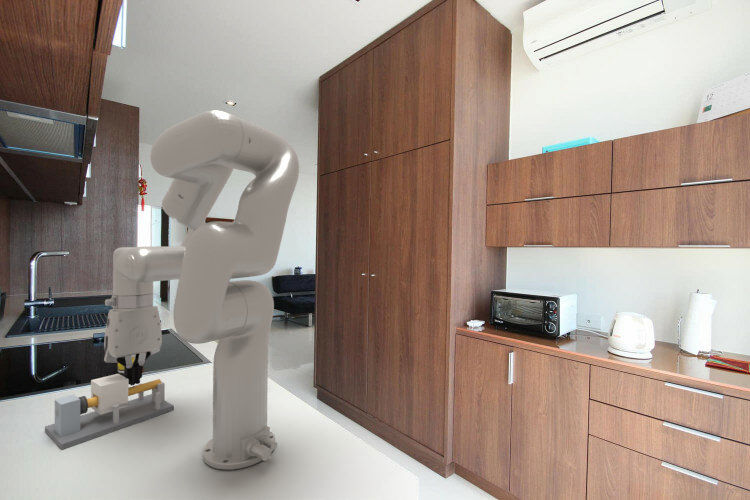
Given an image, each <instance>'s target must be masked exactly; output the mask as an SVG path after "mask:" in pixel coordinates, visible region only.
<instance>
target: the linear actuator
mask: <svg viewBox="0 0 750 500" xmlns="http://www.w3.org/2000/svg"><path fill="white" fill-rule="evenodd" d="M165 388H166V387H165V382H163V381H162V380H161V379H160V378H157V379H154V380H151V381H148V382H143V383H139V384H135V385H132V386H129V391H128V397H131V396H133V395H138V396H137V398H134V399H130V400H128V406H126V407H123V408H120V409H119V405H115V406H113V411H111V412H107V413H104V414H101V415H100V414H99V413H97V412H96V411H95V410H94V411H92V412H91V411H90V412H89V413H87V412H88V409H90V408H91V407H93V406H97V405H98V399H99V397H98V396H97V397H93V398H91V397H90V398H87V396H85V395H82V396H77V395H75V394H70V395H66V396H62V397H59V398H55V399H54V423H52V424H49V425H46V426H44V432H45V434H47V435H48V437H50V439H51V440H52V442H54V443H55V444H56V445H57V447H59V449H60V450H61V451H62V450H66V449H67V448H71V447H73V446H76V445H79V444H82V443H84V442H87V441H90V440H93V439H96V438H99V437H101V436H104V435H107V434H110V433H112V432H116V431H119V430H121V429H124V428H127V427H130V426H132V425H136V424H138V423H141V422H144V421H146V420H150V419H152V418H154V417H158V416H161V415H163V414H166V413H169V412H172V411H174V410H175V405H173V404H172V403H170V402H168V401H166V399H165ZM150 390H151V393H150V394H147V395H144V394H145V393H144V392H147V391H150Z"/></svg>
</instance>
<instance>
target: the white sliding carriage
mask: <svg viewBox="0 0 750 500" xmlns="http://www.w3.org/2000/svg"><path fill="white" fill-rule="evenodd" d="M129 385H130V384H129V379H127V378H126V377H124V375H121V373H115V374H111V375H108V376H106V375H105V376H103V377H99V378H95V379H91V380H90V393H91V394H90V395H91V397H90V398H93V397H97V396H98V397H99V399H98V405H97V406H93V407H90V408H91V409H92V410H94V411H96V412H97V413H99V414H100V415H101V414H104V413H107V412H111V411H113V406H115V405H119V409H120V408H123V407H126V406H128V401H129V396H128V391H129V387H130V386H129Z"/></svg>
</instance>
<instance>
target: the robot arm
mask: <svg viewBox="0 0 750 500" xmlns="http://www.w3.org/2000/svg"><path fill="white" fill-rule="evenodd" d="M149 156H150V164H151V166H152V168H153V170H154V172H155V173H157V174H158V175H160V176H162V177H166V178H170V179H172V180H171V183H170V185H169V187H168V189H167V191H166V193H165V195H164V197H163V198H162V200H161V207H162V209H163V211H164V213H165V214H166V215H167V216H168V217H170V218H171V219H172V220H173V221H175V222H177V223H178V224H180V225H182V226H184V227H185V228H188V229H187V232H186V234H185V237H184V239H183V241H182V242H181V244H180V245H179V246H160V245H159V246H122V247H117V248H116V249H115V250H114V251H113V253H112V254H113V255H112V295H111V298H107V299H105V300H104V304H105V306H107V307H108V306H110V307H111V309H109V311H108V313H107V319H106V325H105V328H104V329H105V331H104V343H103V347H104V353H105V354H104V359H103V361H104V362H105V363H107V364H109V363H110V364H111V363H114V364H115V363H117V364H118V363H120V364H121V365H123V366H124V373H123V374H124V375H123V376H124V377H126V378H127V379H129V385H130V387H133V386H136V385H138V384H141V379H142V377H143V365H145V362H146V360H147V359H148V358H149V357H150V356H152V355H154V354H157V353H159V352H160V351H161V346H162V343H163V338H162V337H163V336H162V333H163V332H162V323H161V317H160V311H159V309H158V306H157V305H154V282H155V283H156V282H163V281H174V280H175V281H176V280H178V284H177V288H176V293H175V299H174V305H173V315H172V316H173V323H174V324H173V325H174V329H175V331H176V332H177V335H178V336H179V337H180V339H182V340H183V341H185V342H186V343H189V344H195V345H198V344H199V345H201V344H208V343H210V342H215V341H218V343H217V345H216V347H215V351H214V355H213V366H212V369H213V370H212V372H213V373H212V438H211V439H210V440H209V441H208V442H207V443H206V444H205V446H204V448H203V450H202V458H203V461H204V463H205V464H206V465H207V466H209V467H211V468H213V469H217V470H225V471H226V470H228V471H230V470H238V469H244V468H248V467H251V466H253V465H256V464H257V463H259V462H262V461H264V462H266V461H268V460H269V459H270V458H271V455H272V453H273V451H274V450H275V449H276V448H277V447H278V442H277V441H276V436H275V434H274V433H273V432H272V431H271V427H270V426H268V383H269V382H268V377H269V375H268V371H269V366H268V364H269V344H270V343H269V341H270V334H271V327H272V323H273V316H274V310H275V309H274V308H275V301H274V297H273V295H272V293H271V290H270V289H269V288H268V287H267V286H266V285H264V284H263V283H261V282H259V281H256V280H249V279H248V280H247V279H245V280H243V279H244V278H252V277H259V276H262V275H266V274H268V273H270V272H271V270H273V268H274V267H275V265H276V262H277V259H278V256H279V251H280V247H281V243H282V239H283V236H284V235H283V234H284V231H285V228H286V227H285V226H286V222H287V216H288V212H289V209H290V205H291V201H292V198H293V195H294V192H295V190H296V187H297V184H298V180H299V175H300V163H299V158H298V155H297V153H296V151H295V149H294V147H293V146H292V145H291V143H289V141H287V140H286V139H284V137H282V136H280V135H279V134H277V133H275V132H274V131H271V130H270V129H268V128H266V127H263V126H261V125H258V124H256V123H254V122H251V121H248V120H245V119H243V118H241V117H239V116H236V115H234V114H232V113H229V112H226V111H222V110H219V109H212V110H206V111H203V112H200V113H198V114H196V115H194V116H191V117H189V118H187V119H185V120H183V121H179V122H178V123H176V124H174V125H172V126H171V127H168V128H166V129H165V130H164V131H163V132H162V133H160V134H159V136H158V137H156V139H155V141H154V143H153V145H152V147H151V150H150V155H149ZM234 169H235V170H238V171H241V172H248V173H251V174H253V175H254V176H255V177H254V178H253V179H252V180H250V182H249V183H248V184H247V185H246V186H245V188H244V190H243V191H242V193H241V195H240V198H239V201H238V206H237V210H236V214H235V218H234V219H233V221H232V222H231V221H218V220H217V221H209V222H206V219H207V218H208V215H209V214H210V212H211V210H212V208H213V207H214V205H215V203H216V202H217V200H218V198H219V196H220V195H221V193H222V191H223V189H224V187H225V186H226V184H227V183H228V180H229V178H230V177H231V175H232V173H233V171H234ZM242 278H243V279H242ZM233 279H242V280H233ZM134 354H135V357H134V362H133V363H132V357H131V355H134Z"/></svg>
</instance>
